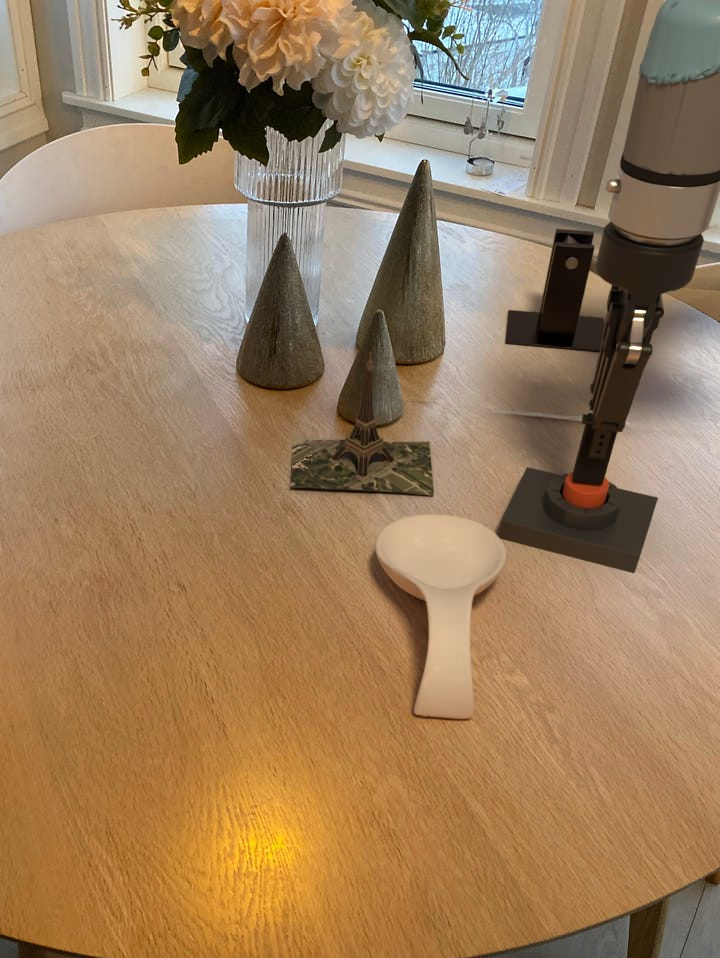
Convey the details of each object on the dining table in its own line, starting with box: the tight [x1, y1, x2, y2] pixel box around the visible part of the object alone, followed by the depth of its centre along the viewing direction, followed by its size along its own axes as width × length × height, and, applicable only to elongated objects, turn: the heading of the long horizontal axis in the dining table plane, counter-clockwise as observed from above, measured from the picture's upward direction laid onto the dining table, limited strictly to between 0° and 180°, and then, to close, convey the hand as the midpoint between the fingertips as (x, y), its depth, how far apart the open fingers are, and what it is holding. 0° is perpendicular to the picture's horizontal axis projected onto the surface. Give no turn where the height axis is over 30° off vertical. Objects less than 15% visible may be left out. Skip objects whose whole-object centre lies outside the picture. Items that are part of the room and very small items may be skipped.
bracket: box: [504, 228, 605, 354], centre depth 121 cm, size 12×9×13 cm
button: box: [562, 471, 610, 508], centre depth 95 cm, size 4×4×2 cm
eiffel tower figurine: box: [289, 351, 435, 497], centre depth 101 cm, size 15×10×13 cm
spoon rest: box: [374, 513, 508, 720], centre depth 86 cm, size 24×12×7 cm, turn 175°
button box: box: [497, 466, 659, 574], centre depth 96 cm, size 13×10×4 cm
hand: (587, 478), depth 94 cm, fingers closed
